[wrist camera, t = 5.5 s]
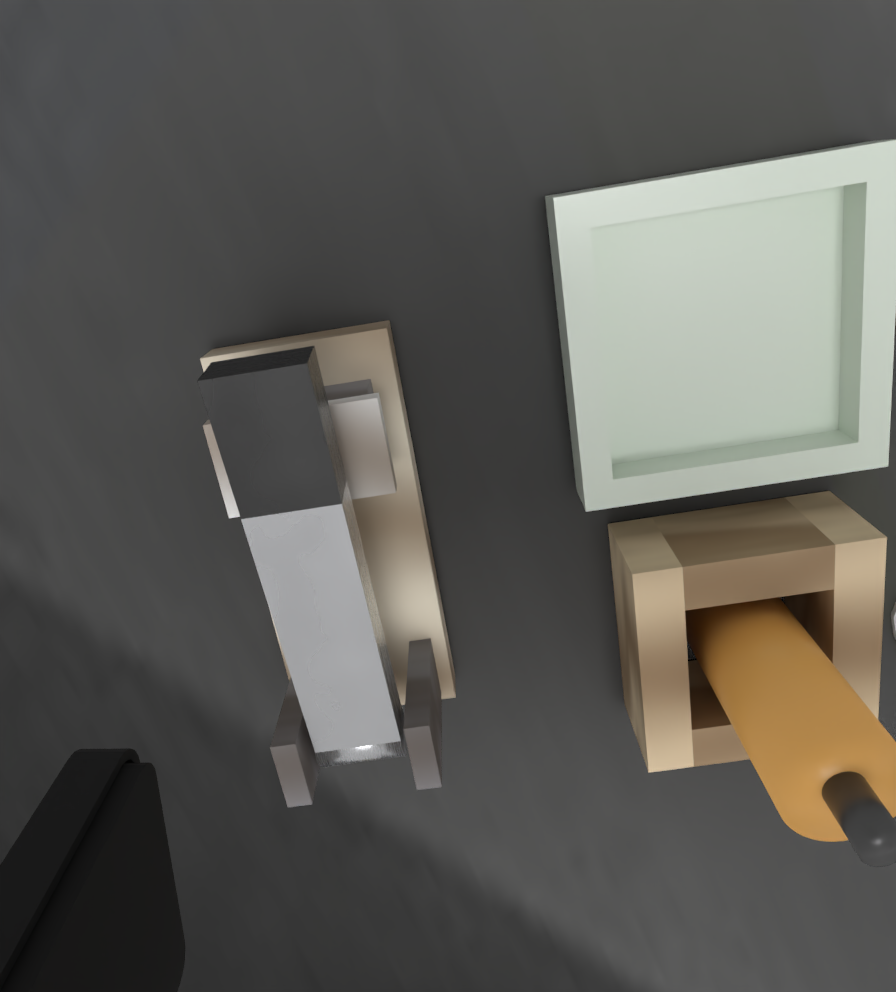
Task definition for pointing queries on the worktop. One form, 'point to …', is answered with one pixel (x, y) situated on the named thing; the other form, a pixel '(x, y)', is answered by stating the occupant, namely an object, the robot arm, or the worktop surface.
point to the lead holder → (734, 579)
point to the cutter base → (371, 542)
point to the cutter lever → (307, 549)
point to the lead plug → (800, 725)
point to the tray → (728, 324)
